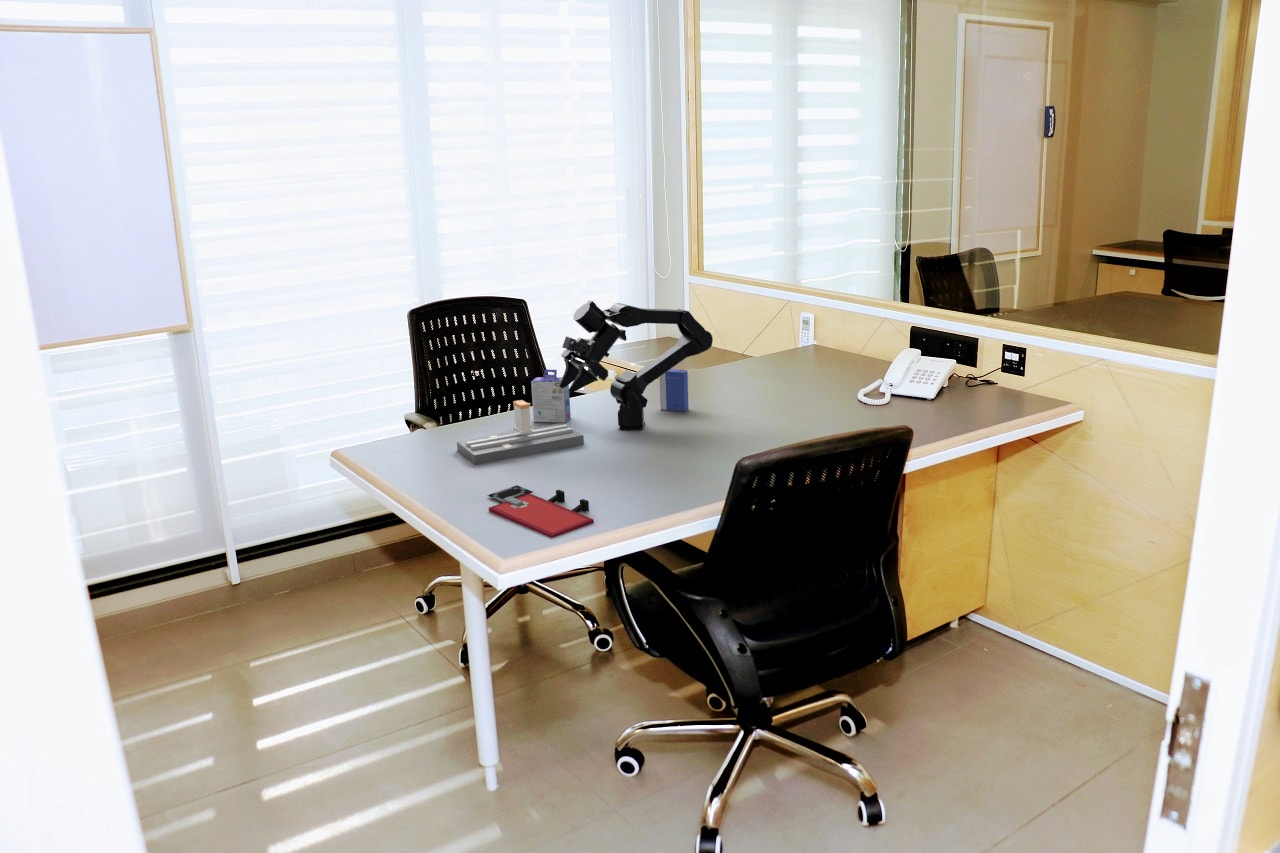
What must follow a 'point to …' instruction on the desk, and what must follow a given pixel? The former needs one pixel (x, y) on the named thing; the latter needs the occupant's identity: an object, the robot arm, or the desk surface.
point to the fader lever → (522, 417)
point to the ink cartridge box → (550, 399)
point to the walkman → (674, 390)
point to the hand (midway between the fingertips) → (565, 389)
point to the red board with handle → (539, 511)
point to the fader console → (519, 443)
